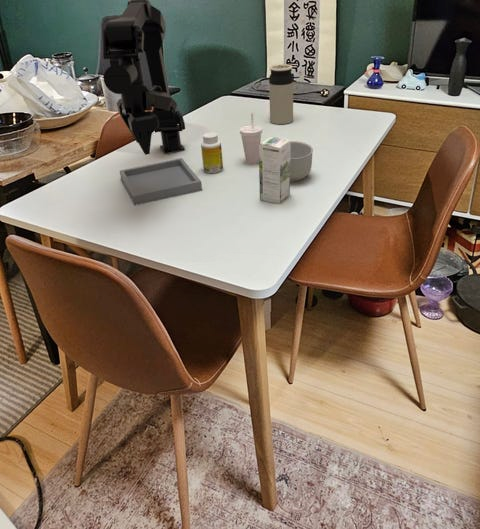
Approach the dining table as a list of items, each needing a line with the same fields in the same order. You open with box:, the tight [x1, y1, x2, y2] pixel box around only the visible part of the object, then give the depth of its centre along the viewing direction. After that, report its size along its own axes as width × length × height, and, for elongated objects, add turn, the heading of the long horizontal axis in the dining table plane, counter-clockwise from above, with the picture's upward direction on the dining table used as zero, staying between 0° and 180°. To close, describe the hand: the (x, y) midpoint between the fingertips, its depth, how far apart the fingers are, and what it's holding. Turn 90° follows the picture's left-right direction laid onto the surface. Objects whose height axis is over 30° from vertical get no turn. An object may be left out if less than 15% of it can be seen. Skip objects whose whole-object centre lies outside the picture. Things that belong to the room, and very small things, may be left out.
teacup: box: [290, 140, 314, 182], centre depth 130 cm, size 14×11×8 cm
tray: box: [119, 157, 203, 206], centre depth 132 cm, size 18×18×2 cm
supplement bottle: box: [200, 132, 224, 174], centre depth 136 cm, size 6×6×10 cm
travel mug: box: [268, 63, 294, 125], centre depth 166 cm, size 8×8×18 cm
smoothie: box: [239, 112, 263, 165], centre depth 138 cm, size 6×6×14 cm
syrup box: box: [258, 136, 292, 205], centre depth 119 cm, size 6×6×14 cm
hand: (142, 148), depth 120 cm, fingers open, 9 cm apart
